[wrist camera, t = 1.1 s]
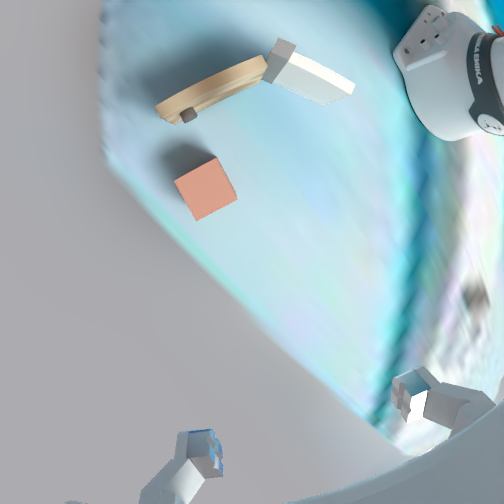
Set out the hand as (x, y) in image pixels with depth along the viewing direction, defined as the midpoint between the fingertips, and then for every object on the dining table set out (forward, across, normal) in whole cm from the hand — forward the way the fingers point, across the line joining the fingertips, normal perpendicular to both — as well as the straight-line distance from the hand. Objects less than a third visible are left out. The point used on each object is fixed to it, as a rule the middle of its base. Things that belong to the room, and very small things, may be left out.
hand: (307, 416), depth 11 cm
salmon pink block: (+24, +3, -10) cm, 26 cm away
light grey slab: (+23, -9, -19) cm, 31 cm away
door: (+22, 0, -19) cm, 29 cm away
